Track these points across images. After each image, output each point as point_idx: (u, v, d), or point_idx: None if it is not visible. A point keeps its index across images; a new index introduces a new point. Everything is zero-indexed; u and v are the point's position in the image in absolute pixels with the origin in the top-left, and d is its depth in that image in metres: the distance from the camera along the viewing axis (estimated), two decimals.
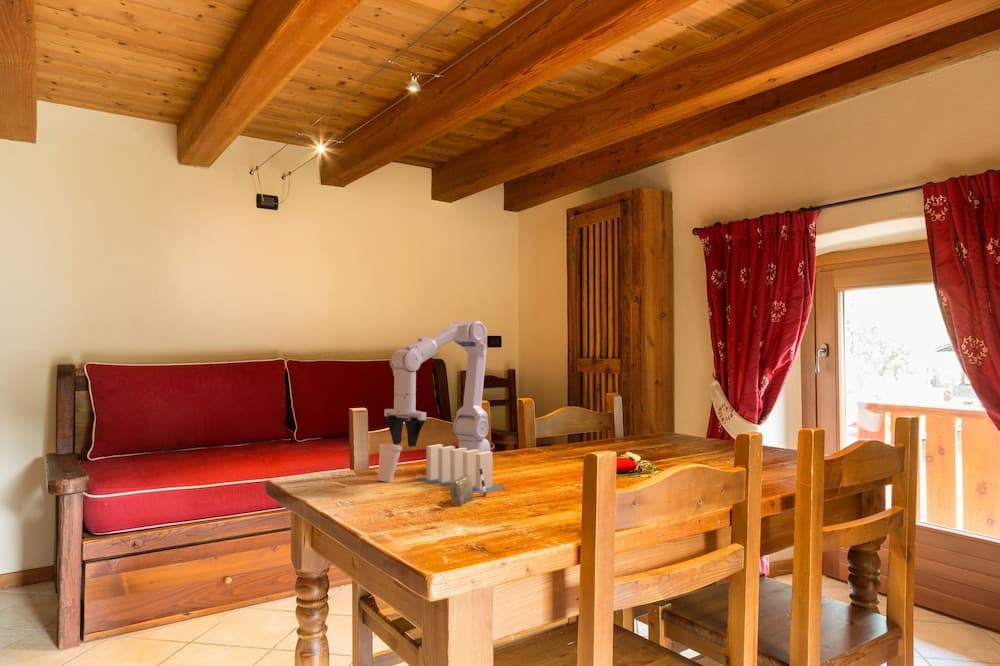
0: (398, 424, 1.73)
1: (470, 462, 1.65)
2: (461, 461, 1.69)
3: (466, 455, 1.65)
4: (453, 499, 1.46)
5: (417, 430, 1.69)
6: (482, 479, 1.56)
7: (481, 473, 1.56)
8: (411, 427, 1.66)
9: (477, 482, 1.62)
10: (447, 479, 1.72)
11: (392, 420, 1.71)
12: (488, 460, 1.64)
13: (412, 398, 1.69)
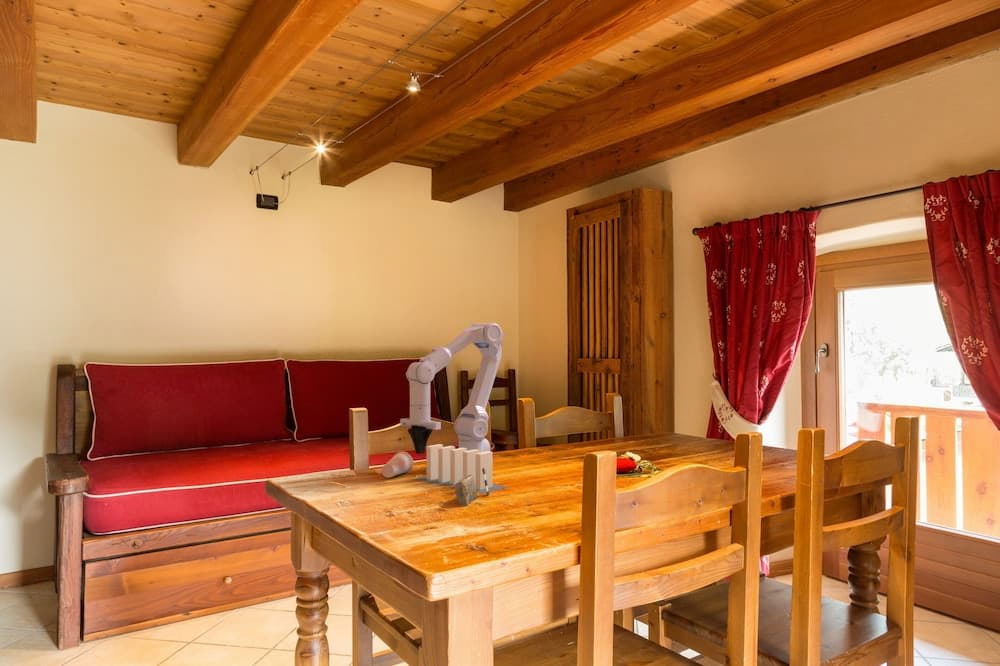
0: None
1: (470, 462, 1.65)
2: (461, 461, 1.69)
3: (466, 455, 1.65)
4: (459, 499, 1.46)
5: (425, 438, 1.79)
6: (485, 479, 1.56)
7: (484, 473, 1.56)
8: (420, 435, 1.76)
9: (477, 482, 1.62)
10: (447, 479, 1.72)
11: None
12: (488, 460, 1.64)
13: (427, 408, 1.78)
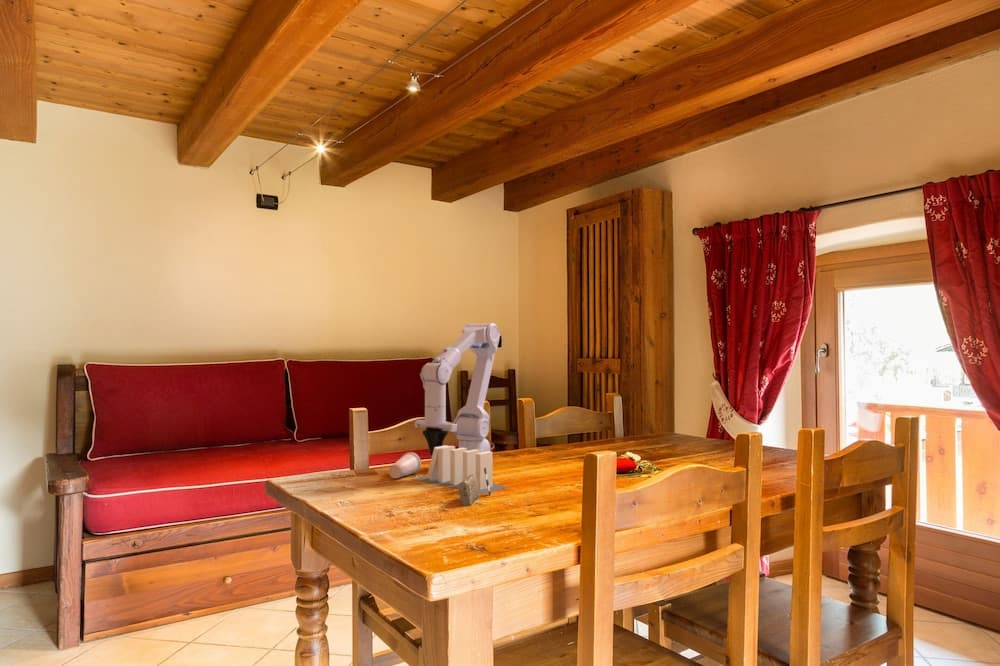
0: None
1: (470, 462, 1.65)
2: (461, 461, 1.69)
3: (466, 455, 1.65)
4: (462, 499, 1.46)
5: (440, 440, 1.75)
6: (486, 478, 1.57)
7: (485, 472, 1.57)
8: (435, 437, 1.73)
9: (477, 482, 1.62)
10: (447, 479, 1.72)
11: None
12: (488, 460, 1.64)
13: (442, 410, 1.74)
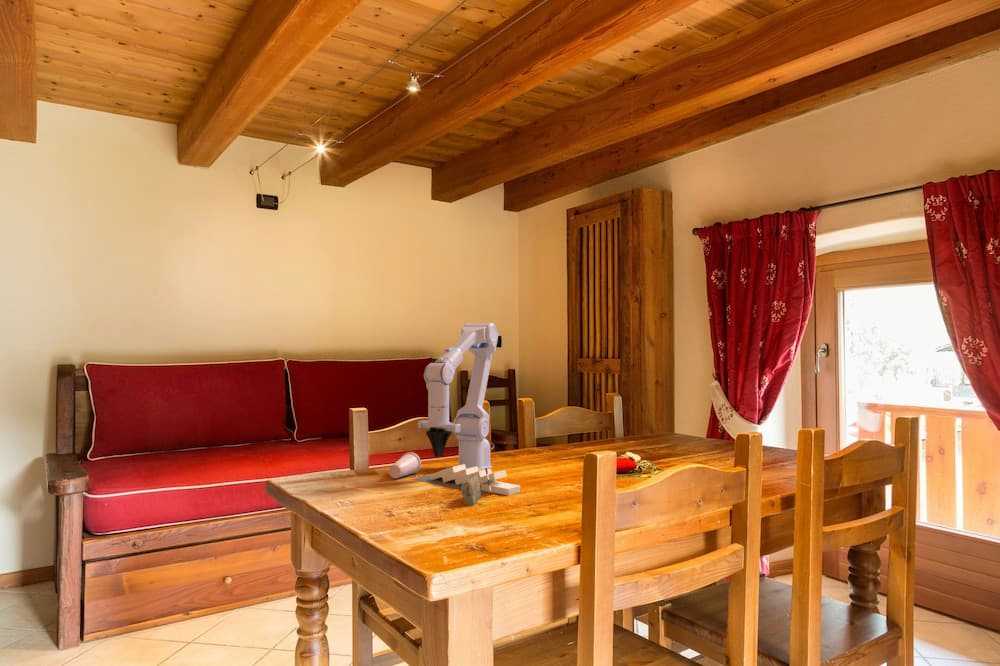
0: None
1: None
2: None
3: (492, 478, 1.59)
4: (466, 499, 1.46)
5: (444, 440, 1.75)
6: (488, 478, 1.57)
7: (487, 472, 1.57)
8: (438, 438, 1.72)
9: (486, 487, 1.60)
10: None
11: None
12: None
13: (446, 410, 1.73)
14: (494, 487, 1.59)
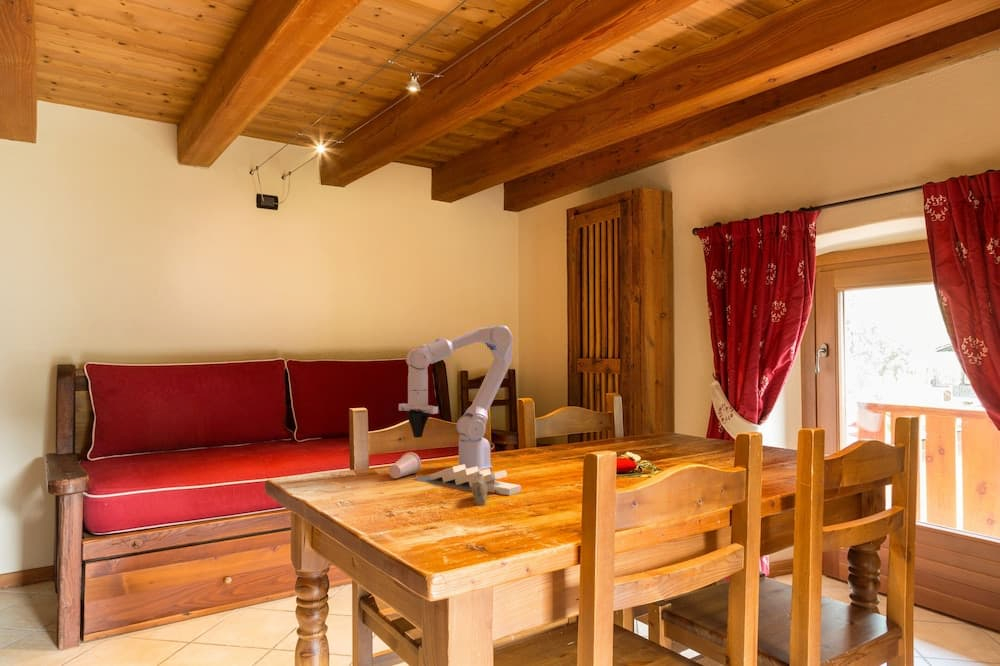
0: None
1: None
2: None
3: (493, 478, 1.59)
4: (476, 499, 1.47)
5: (423, 422, 1.84)
6: (492, 477, 1.58)
7: (491, 471, 1.58)
8: (417, 419, 1.81)
9: None
10: None
11: None
12: None
13: (425, 393, 1.83)
14: (495, 487, 1.59)
